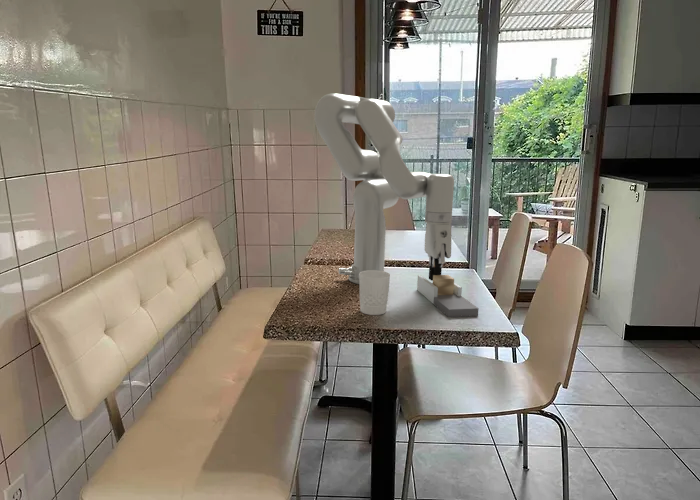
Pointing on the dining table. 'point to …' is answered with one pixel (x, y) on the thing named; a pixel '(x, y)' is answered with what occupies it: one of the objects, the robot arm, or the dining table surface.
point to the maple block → (444, 284)
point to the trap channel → (447, 299)
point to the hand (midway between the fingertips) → (434, 279)
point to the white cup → (373, 291)
